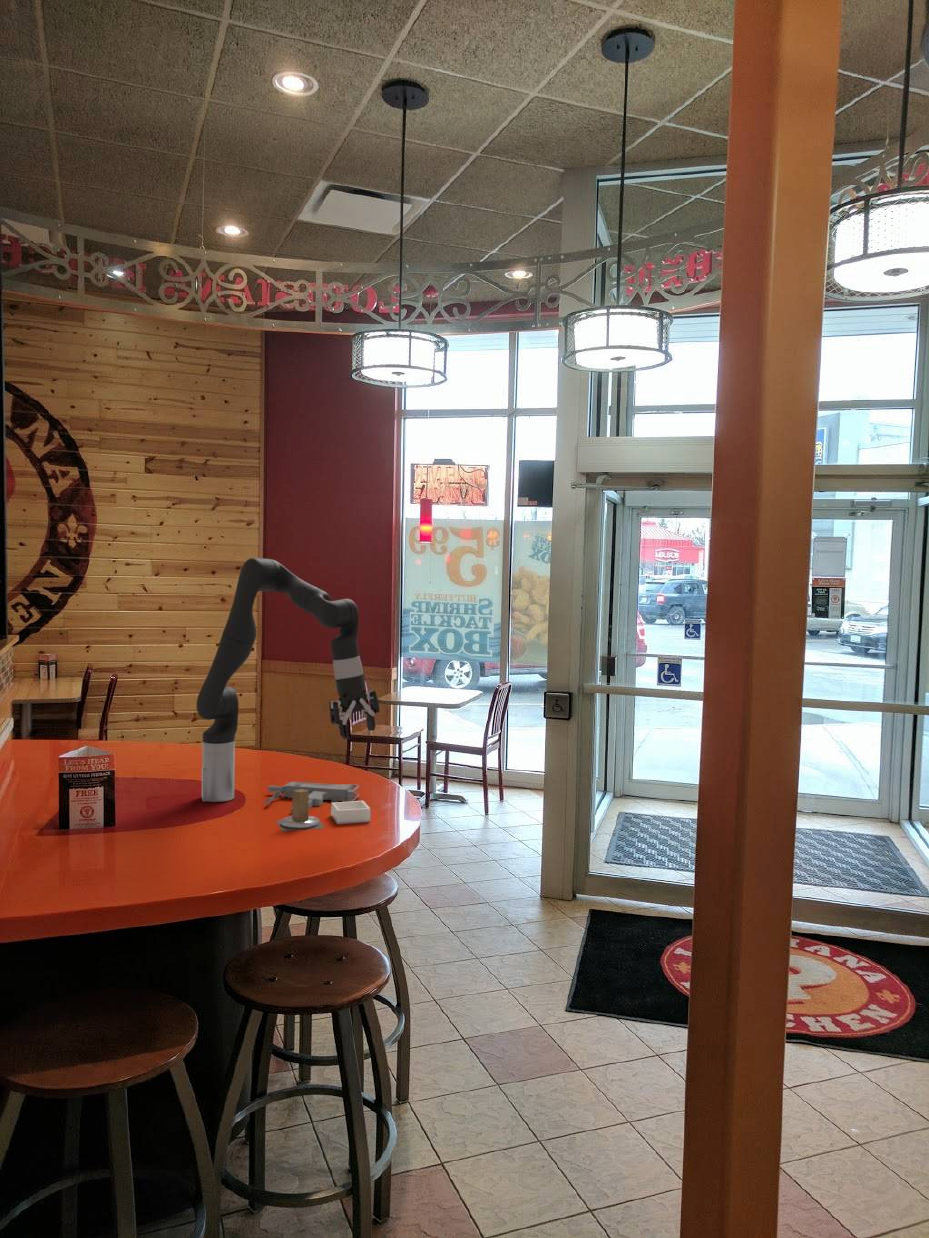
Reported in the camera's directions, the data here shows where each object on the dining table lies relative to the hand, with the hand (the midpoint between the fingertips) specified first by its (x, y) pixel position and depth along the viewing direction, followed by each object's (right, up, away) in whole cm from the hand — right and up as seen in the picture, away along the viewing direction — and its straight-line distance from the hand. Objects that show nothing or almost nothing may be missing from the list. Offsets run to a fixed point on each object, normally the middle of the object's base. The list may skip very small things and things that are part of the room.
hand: (358, 734), depth 239 cm
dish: (-3, -24, +7) cm, 26 cm away
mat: (-16, -24, +1) cm, 29 cm away
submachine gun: (-19, -24, +24) cm, 39 cm away
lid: (-16, -24, +1) cm, 29 cm away
